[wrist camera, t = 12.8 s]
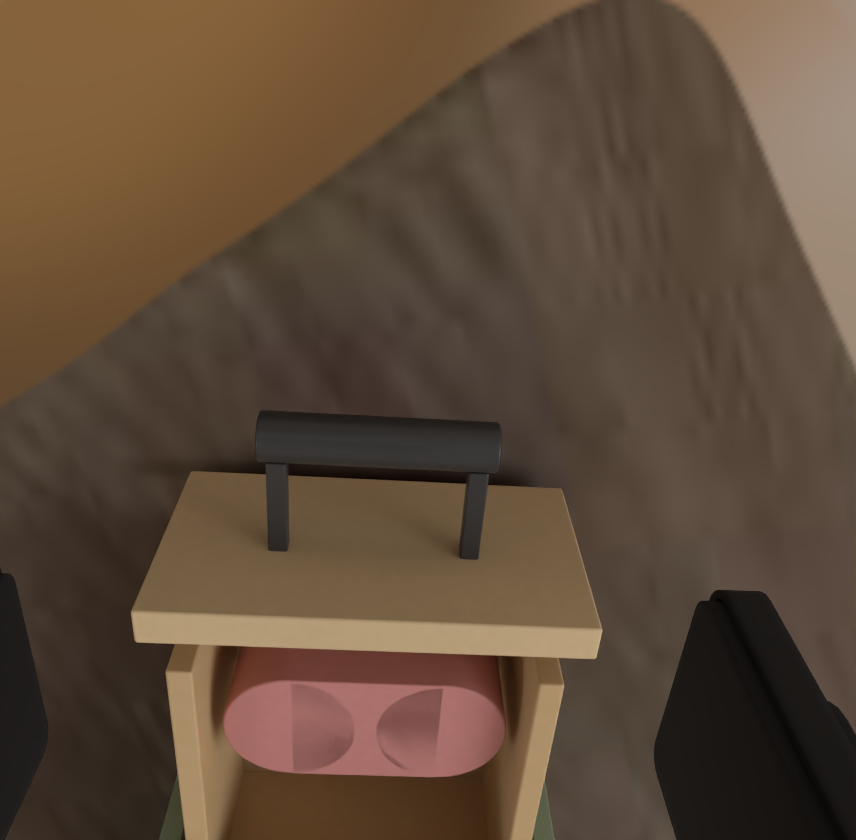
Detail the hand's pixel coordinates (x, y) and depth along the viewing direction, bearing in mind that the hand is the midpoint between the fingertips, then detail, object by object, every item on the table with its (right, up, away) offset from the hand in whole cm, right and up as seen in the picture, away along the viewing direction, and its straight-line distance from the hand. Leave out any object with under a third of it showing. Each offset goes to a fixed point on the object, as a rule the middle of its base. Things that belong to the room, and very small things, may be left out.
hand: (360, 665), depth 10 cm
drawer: (-1, -4, +22) cm, 22 cm away
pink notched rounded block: (-1, -5, +21) cm, 22 cm away
